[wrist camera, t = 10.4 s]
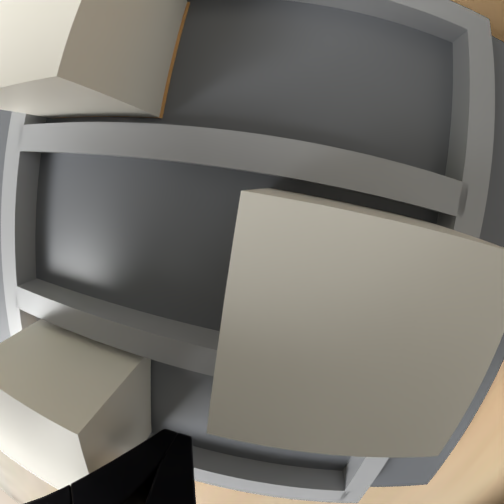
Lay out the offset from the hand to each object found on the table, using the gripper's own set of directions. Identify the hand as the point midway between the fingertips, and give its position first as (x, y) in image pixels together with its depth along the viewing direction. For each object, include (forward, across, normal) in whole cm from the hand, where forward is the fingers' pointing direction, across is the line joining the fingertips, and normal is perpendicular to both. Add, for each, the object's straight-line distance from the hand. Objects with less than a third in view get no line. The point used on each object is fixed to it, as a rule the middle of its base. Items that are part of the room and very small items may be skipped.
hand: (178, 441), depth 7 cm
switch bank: (+3, 0, -5) cm, 6 cm away
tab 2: (+2, +4, 0) cm, 4 cm away
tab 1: (+2, +4, -10) cm, 11 cm away
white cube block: (+2, -3, -5) cm, 6 cm away
